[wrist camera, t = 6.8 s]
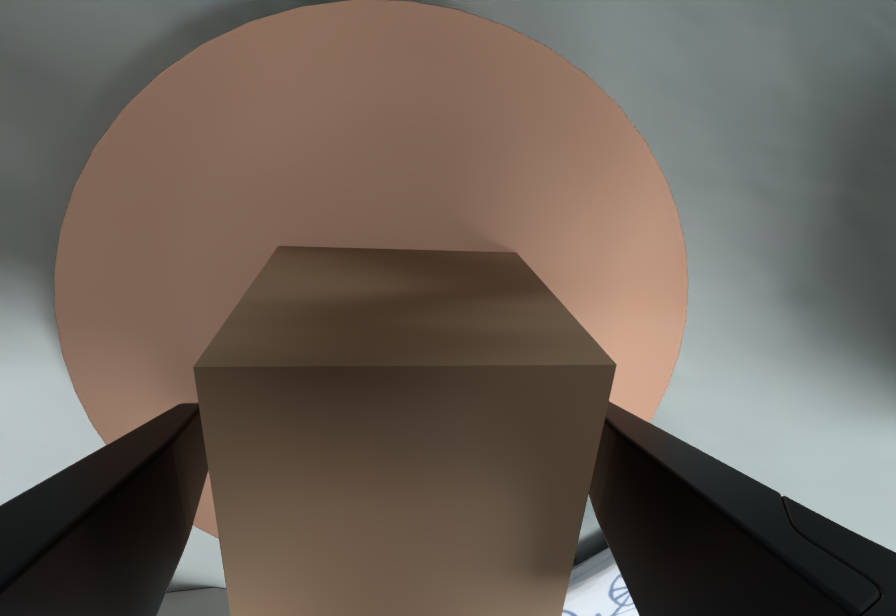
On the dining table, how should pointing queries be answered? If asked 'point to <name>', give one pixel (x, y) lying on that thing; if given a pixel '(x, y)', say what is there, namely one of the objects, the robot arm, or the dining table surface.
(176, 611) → the cup
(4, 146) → the dining table surface
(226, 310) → the salmon pink disc
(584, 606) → the patterned cloth
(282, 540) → the walnut block
